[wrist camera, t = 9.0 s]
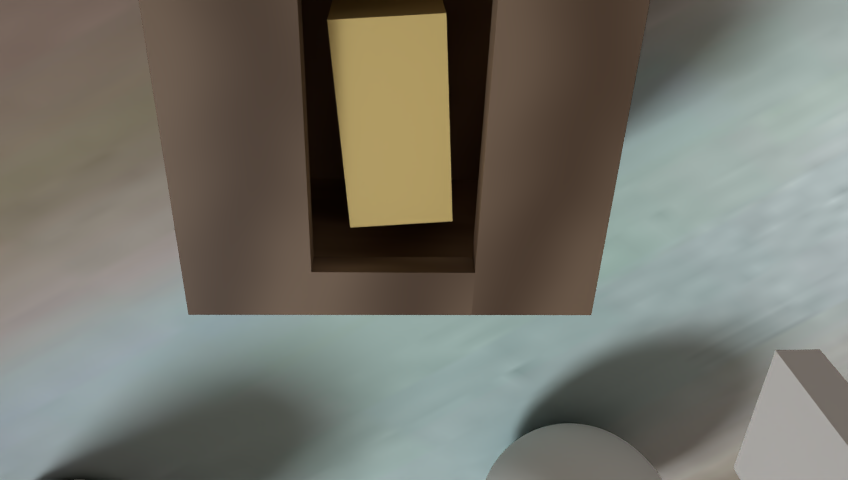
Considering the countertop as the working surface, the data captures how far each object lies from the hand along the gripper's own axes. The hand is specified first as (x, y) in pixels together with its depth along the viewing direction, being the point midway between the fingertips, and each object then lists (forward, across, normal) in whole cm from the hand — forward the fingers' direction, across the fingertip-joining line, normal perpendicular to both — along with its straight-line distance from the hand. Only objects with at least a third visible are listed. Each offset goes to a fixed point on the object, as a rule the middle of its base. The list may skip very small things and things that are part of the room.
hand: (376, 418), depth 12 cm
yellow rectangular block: (+21, +1, 0) cm, 21 cm away
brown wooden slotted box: (+22, +1, 0) cm, 22 cm away
